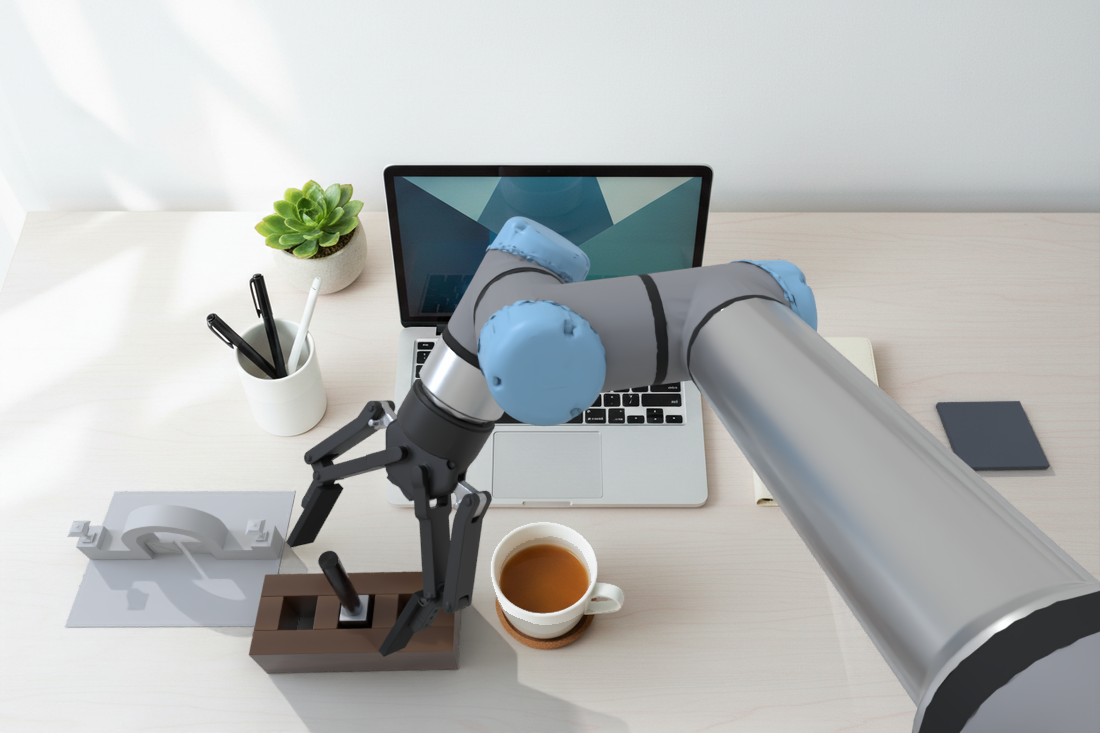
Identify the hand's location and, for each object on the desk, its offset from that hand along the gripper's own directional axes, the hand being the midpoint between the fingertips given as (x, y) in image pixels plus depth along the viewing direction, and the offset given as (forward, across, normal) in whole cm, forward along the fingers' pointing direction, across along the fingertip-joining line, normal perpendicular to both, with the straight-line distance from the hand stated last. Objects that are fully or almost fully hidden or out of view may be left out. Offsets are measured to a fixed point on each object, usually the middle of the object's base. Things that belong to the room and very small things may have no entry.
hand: (343, 593), depth 69 cm
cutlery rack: (+7, 0, -8) cm, 11 cm away
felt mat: (-39, -33, -54) cm, 75 cm away
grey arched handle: (+14, +20, -2) cm, 24 cm away
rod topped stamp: (+7, 0, -8) cm, 11 cm away
